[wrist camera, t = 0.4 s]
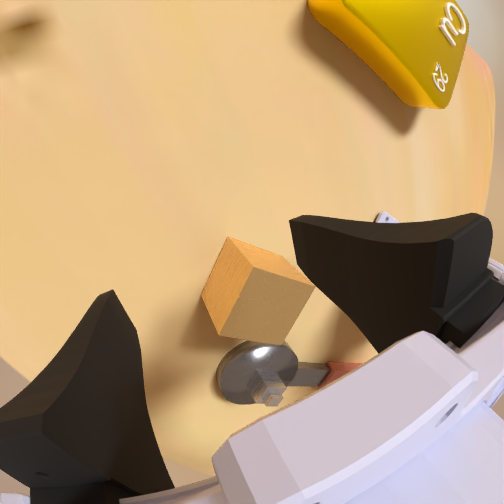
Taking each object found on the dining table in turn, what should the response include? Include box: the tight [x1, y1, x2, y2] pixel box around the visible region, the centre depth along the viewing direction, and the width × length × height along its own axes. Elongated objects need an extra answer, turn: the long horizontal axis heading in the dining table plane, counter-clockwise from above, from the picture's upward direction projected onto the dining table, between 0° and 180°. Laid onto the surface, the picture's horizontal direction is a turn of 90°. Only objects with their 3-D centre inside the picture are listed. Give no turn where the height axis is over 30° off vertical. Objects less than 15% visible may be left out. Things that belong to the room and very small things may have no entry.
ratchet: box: [216, 341, 362, 406], centre depth 29 cm, size 22×8×5 cm, turn 63°
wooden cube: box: [201, 237, 315, 345], centre depth 21 cm, size 5×5×5 cm
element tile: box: [308, 0, 469, 109], centre depth 16 cm, size 15×15×5 cm
